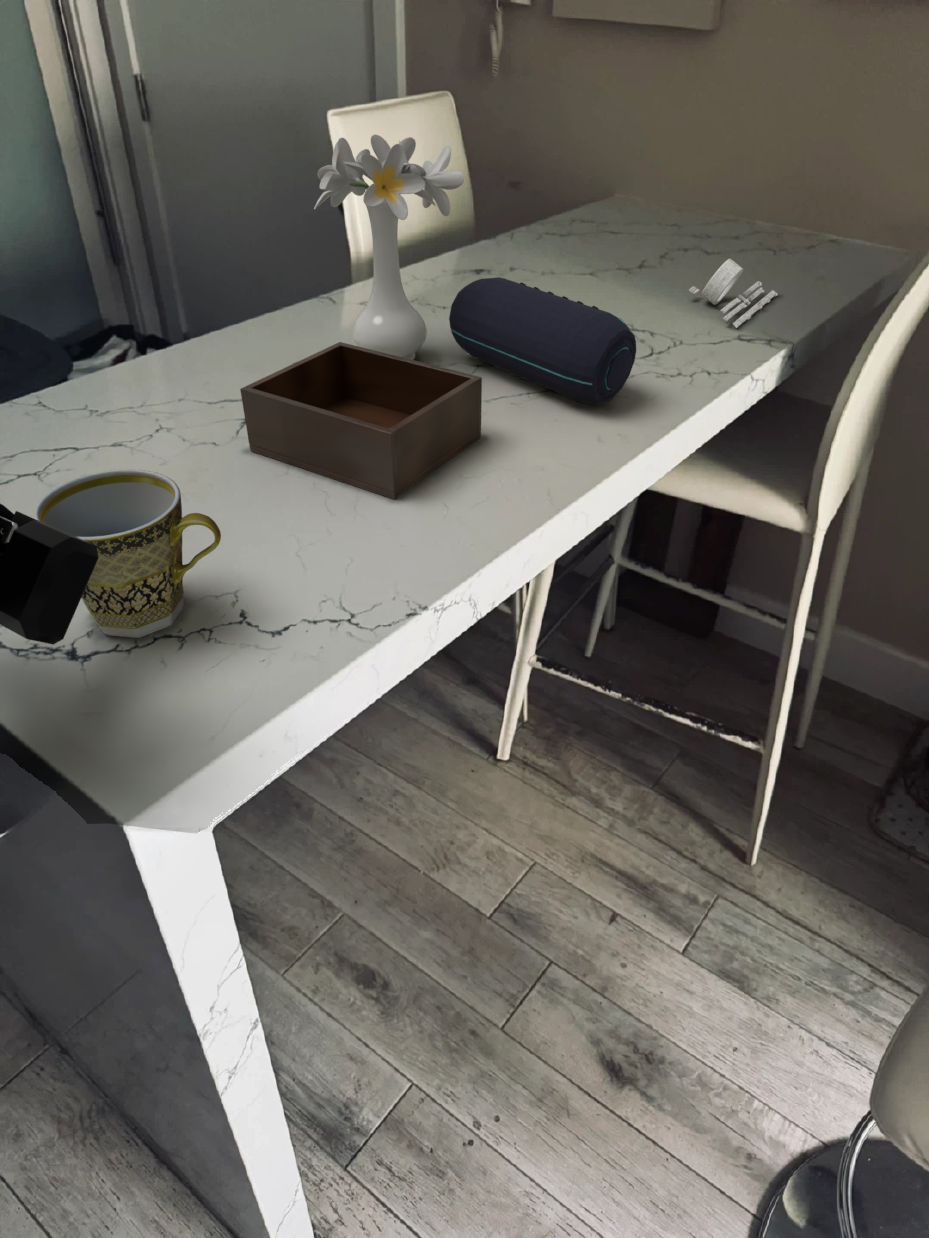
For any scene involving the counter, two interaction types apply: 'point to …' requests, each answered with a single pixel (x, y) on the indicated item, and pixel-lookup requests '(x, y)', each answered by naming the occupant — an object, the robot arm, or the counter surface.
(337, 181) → the flower vase
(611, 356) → the portable speaker
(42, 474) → the counter surface
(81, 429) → the counter surface
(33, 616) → the robot arm
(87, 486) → the ceramic cup
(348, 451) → the crate
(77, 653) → the counter surface
